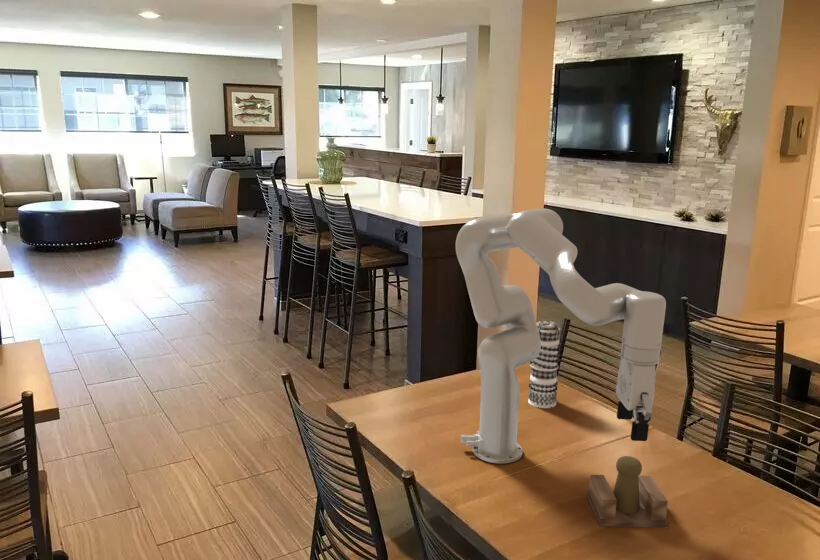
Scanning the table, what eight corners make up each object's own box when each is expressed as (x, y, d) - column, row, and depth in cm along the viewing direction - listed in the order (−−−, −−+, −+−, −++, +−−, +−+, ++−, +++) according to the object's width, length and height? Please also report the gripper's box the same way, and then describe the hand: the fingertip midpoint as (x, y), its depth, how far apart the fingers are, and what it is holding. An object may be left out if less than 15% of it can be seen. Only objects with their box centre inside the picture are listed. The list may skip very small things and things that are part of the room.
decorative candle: (560, 409, 191) (566, 328, 186) (529, 408, 191) (534, 327, 186) (554, 396, 200) (559, 319, 195) (524, 396, 200) (528, 318, 195)
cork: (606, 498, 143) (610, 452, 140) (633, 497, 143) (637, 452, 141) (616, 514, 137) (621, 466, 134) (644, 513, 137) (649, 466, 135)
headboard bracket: (600, 525, 134) (602, 502, 133) (586, 494, 146) (587, 472, 145) (668, 527, 134) (670, 503, 133) (648, 495, 146) (651, 473, 145)
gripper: (610, 338, 141) (602, 410, 145) (635, 367, 124) (625, 448, 128) (644, 339, 140) (636, 412, 145) (674, 368, 124) (663, 450, 128)
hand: (631, 429), depth 136 cm, fingers open, 9 cm apart
